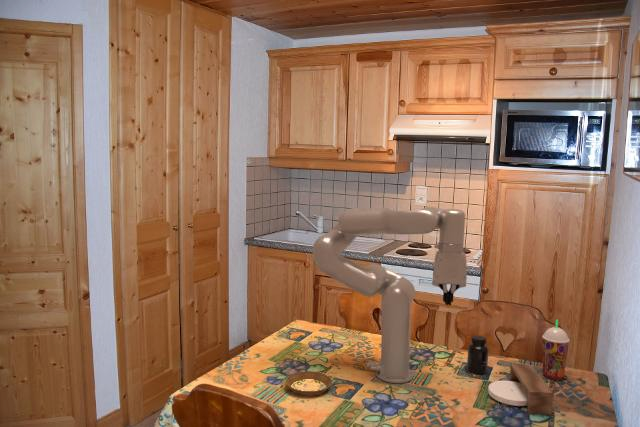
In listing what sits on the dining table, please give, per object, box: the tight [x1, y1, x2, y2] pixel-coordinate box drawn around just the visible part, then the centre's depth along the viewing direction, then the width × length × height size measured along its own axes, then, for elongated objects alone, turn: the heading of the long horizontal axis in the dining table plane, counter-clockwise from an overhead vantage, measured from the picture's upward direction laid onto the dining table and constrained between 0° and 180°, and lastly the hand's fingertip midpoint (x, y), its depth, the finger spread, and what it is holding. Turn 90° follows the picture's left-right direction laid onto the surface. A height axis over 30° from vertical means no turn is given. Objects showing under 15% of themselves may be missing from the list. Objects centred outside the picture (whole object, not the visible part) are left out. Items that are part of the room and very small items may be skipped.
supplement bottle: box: [466, 335, 489, 375], centre depth 182 cm, size 7×7×12 cm
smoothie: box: [542, 319, 570, 381], centre depth 177 cm, size 8×8×20 cm
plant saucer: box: [285, 371, 333, 396], centre depth 168 cm, size 15×15×3 cm
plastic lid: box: [487, 380, 528, 407], centre depth 163 cm, size 14×14×2 cm
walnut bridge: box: [509, 363, 554, 416], centre depth 162 cm, size 6×20×7 cm, turn 176°
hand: (447, 303), depth 169 cm, fingers closed
